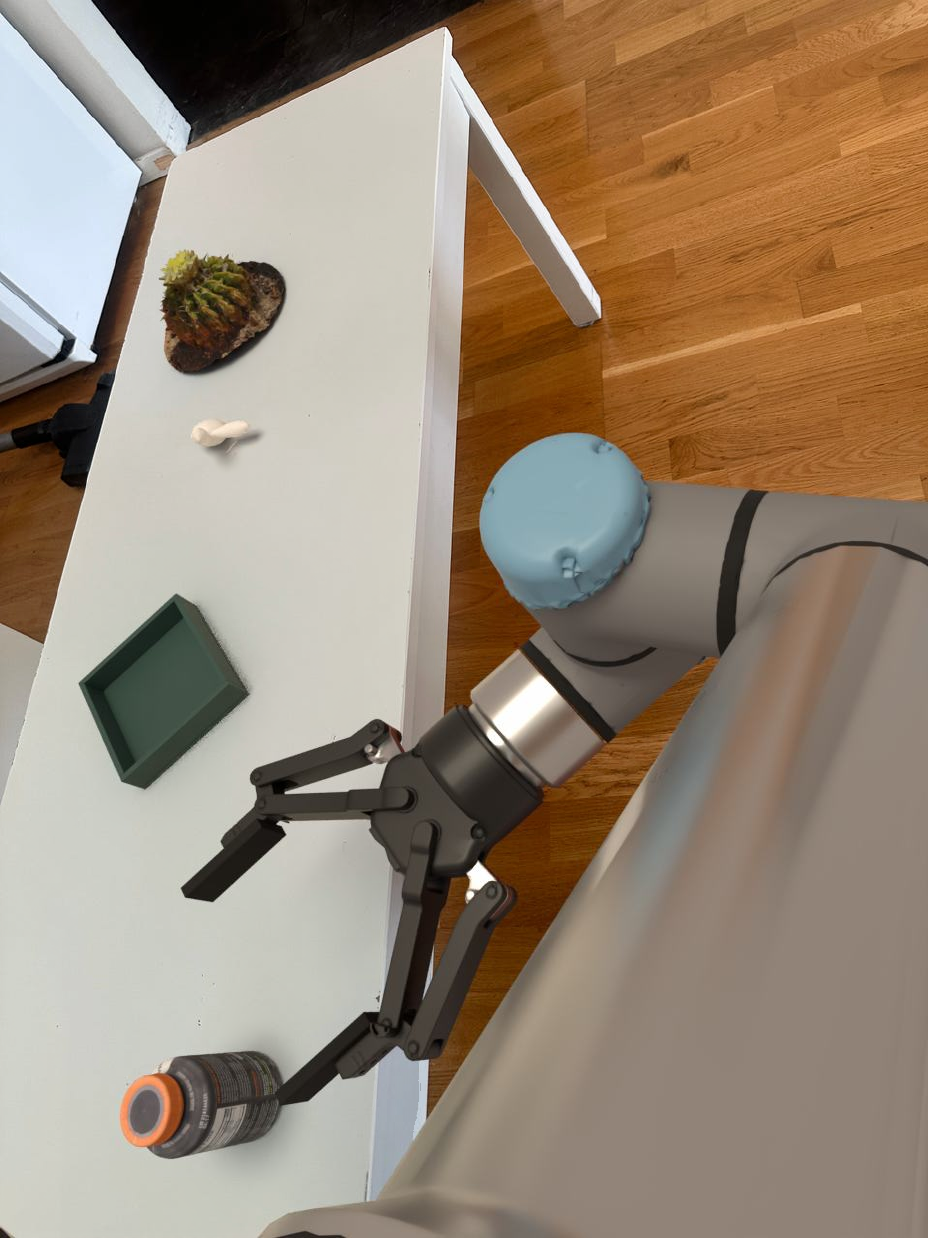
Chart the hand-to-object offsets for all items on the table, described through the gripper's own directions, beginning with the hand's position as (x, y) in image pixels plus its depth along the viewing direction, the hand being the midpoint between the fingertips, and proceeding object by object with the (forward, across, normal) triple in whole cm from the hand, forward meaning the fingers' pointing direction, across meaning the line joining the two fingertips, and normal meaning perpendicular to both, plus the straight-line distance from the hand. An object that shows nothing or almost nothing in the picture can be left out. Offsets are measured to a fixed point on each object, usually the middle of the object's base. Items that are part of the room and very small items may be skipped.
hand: (240, 989), depth 50 cm
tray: (+2, +35, -15) cm, 38 cm away
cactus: (-26, +74, -16) cm, 80 cm away
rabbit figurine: (-17, +56, -15) cm, 60 cm away
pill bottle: (+12, 0, -15) cm, 19 cm away
